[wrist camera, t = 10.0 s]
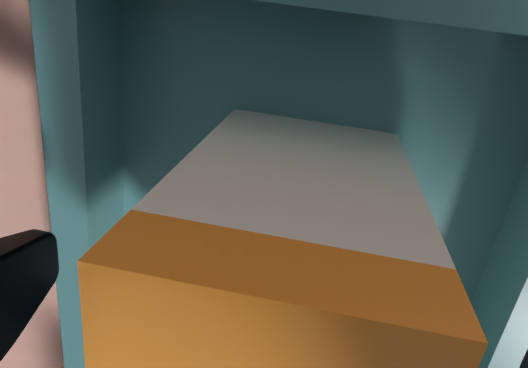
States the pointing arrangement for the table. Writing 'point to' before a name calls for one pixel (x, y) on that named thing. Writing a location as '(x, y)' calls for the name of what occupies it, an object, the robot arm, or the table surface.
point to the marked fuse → (279, 260)
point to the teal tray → (293, 116)
